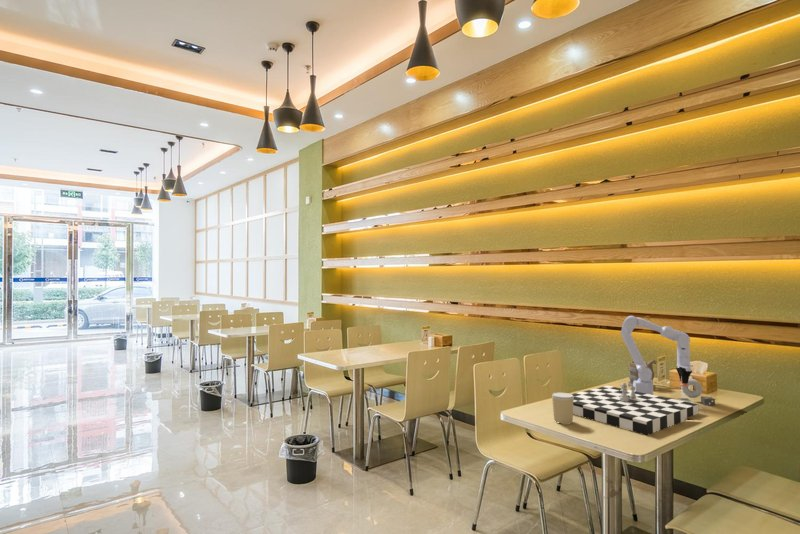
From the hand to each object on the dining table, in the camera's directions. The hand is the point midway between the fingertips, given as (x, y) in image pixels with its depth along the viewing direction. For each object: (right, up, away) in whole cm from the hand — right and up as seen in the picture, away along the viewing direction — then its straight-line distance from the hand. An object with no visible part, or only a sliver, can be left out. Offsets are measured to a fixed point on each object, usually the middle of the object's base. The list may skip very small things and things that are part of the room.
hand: (684, 382), depth 234 cm
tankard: (-1, -11, +35) cm, 37 cm away
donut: (+10, -10, +8) cm, 16 cm away
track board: (-2, -10, -7) cm, 12 cm away
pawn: (0, -2, 0) cm, 2 cm away
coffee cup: (-74, -10, -31) cm, 81 cm away
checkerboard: (-40, -11, -18) cm, 45 cm away
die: (+6, -10, -9) cm, 15 cm away
